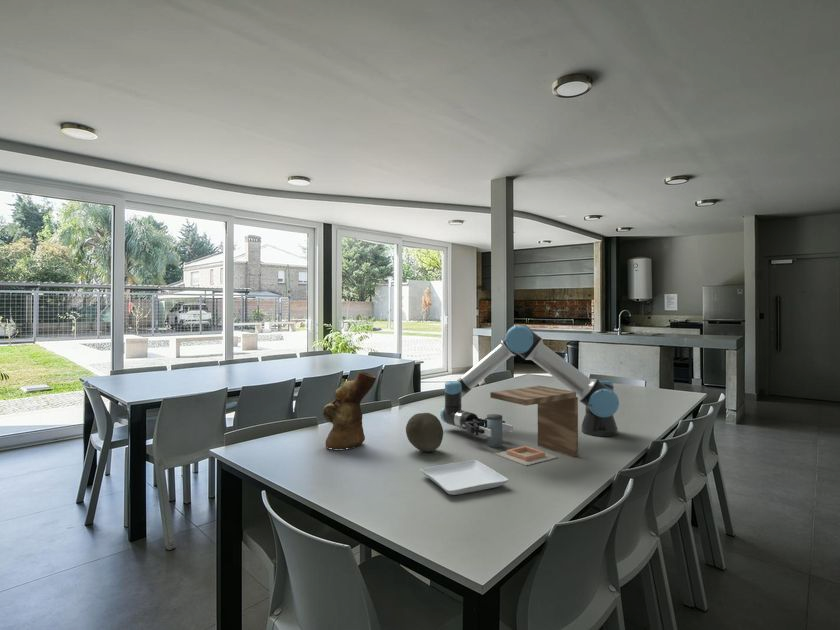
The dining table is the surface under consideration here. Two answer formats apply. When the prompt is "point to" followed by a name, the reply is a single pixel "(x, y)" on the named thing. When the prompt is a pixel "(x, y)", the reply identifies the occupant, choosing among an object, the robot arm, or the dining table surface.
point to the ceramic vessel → (348, 412)
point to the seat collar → (525, 455)
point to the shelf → (550, 415)
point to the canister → (494, 430)
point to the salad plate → (464, 477)
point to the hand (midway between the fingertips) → (501, 431)
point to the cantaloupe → (424, 432)
